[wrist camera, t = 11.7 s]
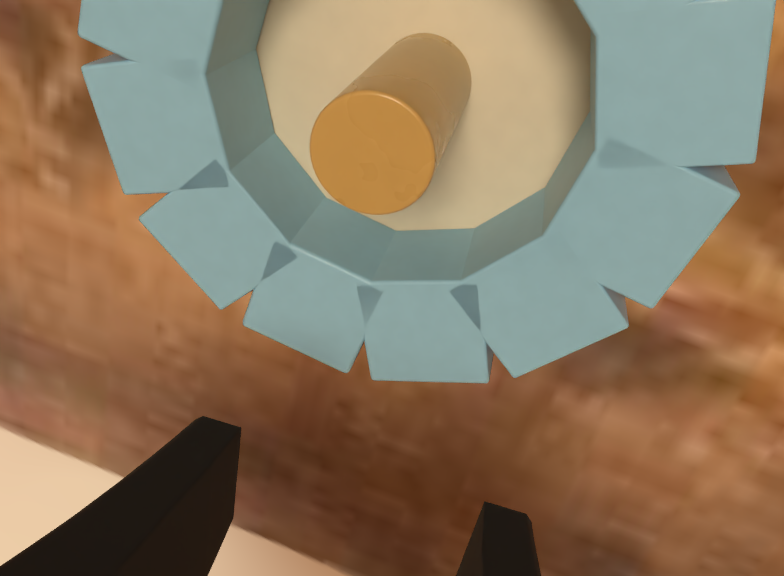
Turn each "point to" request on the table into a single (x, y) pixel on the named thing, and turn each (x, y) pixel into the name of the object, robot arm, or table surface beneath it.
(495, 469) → the table surface
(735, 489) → the table surface
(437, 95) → the peg stand
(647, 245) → the ring
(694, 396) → the table surface
